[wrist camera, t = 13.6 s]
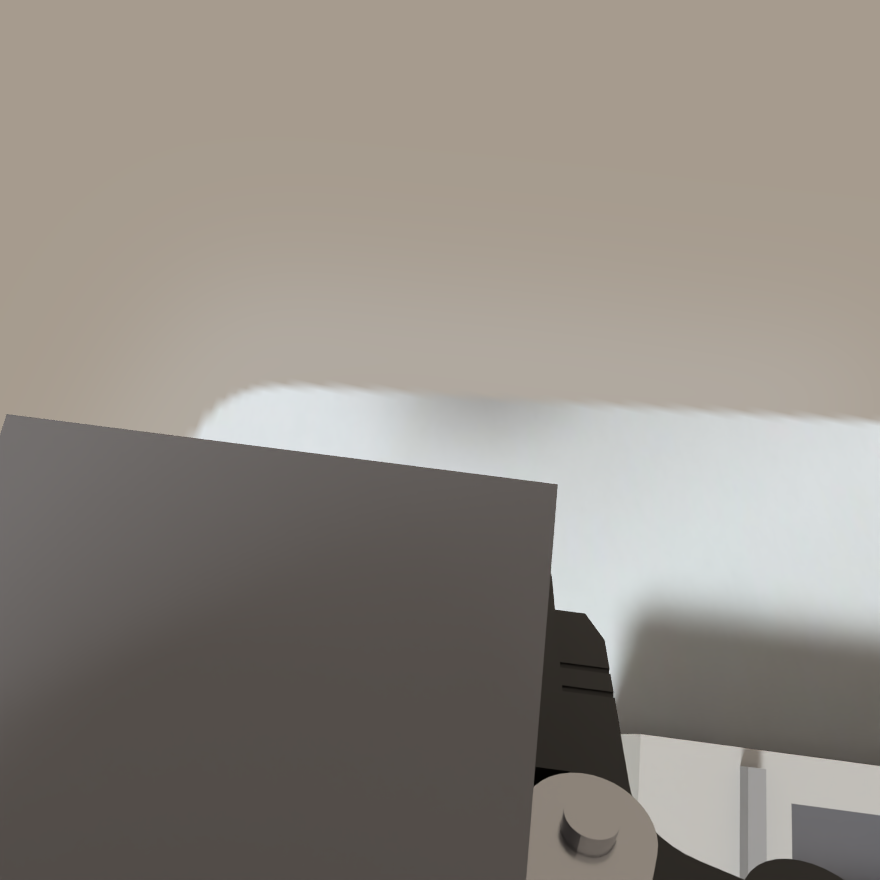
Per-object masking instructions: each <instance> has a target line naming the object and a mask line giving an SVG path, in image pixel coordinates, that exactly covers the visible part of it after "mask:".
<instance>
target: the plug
mask: <svg viewBox="0 0 880 880" xmlns="http://www.w3.org/2000/svg"><path fill="white" fill-rule="evenodd" d="M557 485H558V484H550V483H542V482H534V481H526V480H518V479H511V478H503V477H495V476H487V475H479V474H471V473H463V472H456V471H448V470H440V469H432V468H424V467H416V466H409V465H401V464H393V463H385V462H377V461H369V460H361V459H354V458H346V457H338V456H330V455H322V454H314V453H306V452H299V451H291V450H283V449H275V448H267V447H259V446H252V445H244V444H236V443H228V442H220V441H212V440H204V439H197V438H189V437H181V436H173V435H165V434H156V433H150V432H141V431H133V430H126V429H118V428H110V427H102V426H94V425H87V424H79V423H71V422H63V421H55V420H48V419H39V418H32V417H24V416H16V415H8V414H7V415H6V419H5V421H4V424H3V428H2V431H1V434H0V880H526V876H527V863H528V851H529V838H530V825H531V813H532V800H533V788H534V775H535V762H536V750H537V737H538V725H539V712H540V700H541V687H542V674H543V662H544V649H545V637H546V624H547V611H548V599H549V586H550V574H551V561H552V548H553V536H554V523H555V511H556V498H557Z"/></svg>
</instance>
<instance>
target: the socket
mask: <svg viewBox="0 0 880 880" xmlns="http://www.w3.org/2000/svg"><path fill="white" fill-rule="evenodd" d="M621 739H622V744H623V750H624V756H625V762H626V768H627V773H628V779H629V785H630V790H631V793H632V796H633V797H634V798H635V799H636V800H637V801H638V802H639V803H640V804H641V805H642V807H643V808H644V809H645V811H646V812H647V813H648V815H649V817H650V819H651V821H652V822H653V824H654V827H655V830H656V833H657V834H658V835H660V836H661V837H662V838H663V839H664V840H665V841H667V842H668V843H669V844H671V845H672V846H673V847H675V848H677V849H678V850H680V851H681V852H683V853H684V854H687V855H689V856H691V857H693V858H695V859H697V860H699V861H701V862H704V863H706V864H708V865H711V866H713V867H716V868H718V869H720V870H723V871H725V872H727V873H730V874H732V875H734V876H737V877H739V878H742V879H744V880H745V878H746V877H747V875H748V874H749V872H750V871H751V870H752V869H754V868H755V867H756V866H757V865H759V864H761V863H763V862H766V861H769V860H774V859H794V860H801V861H805V862H808V863H812V864H814V865H817V866H819V867H822V868H824V869H826V870H828V871H830V872H832V873H834V874H836V875H838V876H839V877H841V878H842V879H844V880H880V766H875V765H868V764H860V763H853V762H846V761H838V760H831V759H823V758H816V757H808V756H801V755H793V754H786V753H778V752H771V751H763V750H756V749H749V748H741V747H734V746H726V745H719V744H711V743H704V742H696V741H689V740H681V739H674V738H666V737H659V736H651V735H644V734H621Z"/></svg>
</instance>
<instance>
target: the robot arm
mask: <svg viewBox="0 0 880 880" xmlns="http://www.w3.org/2000/svg"><path fill="white" fill-rule="evenodd" d="M526 880H744V879H742V878H739V877H737V876H734V875H732V874H730V873H727V872H725V871H723V870H720V869H718V868H716V867H713V866H711V865H708V864H706V863H704V862H701V861H699V860H697V859H695V858H693V857H691V856H689V855H687V854H684V853H683V852H681V851H680V850H678V849H677V848H675V847H673V846H672V845H671V844H669V843H668V842H667V841H665V840H664V839H663V838H662V837H661V836H660V835H658V834H657V833H656V830H655V827H654V824H653V822H652V821H651V819H650V817H649V815H648V813H647V812H646V811H645V809H644V808H643V807H642V805H641V804H640V803H639V802H638V801H637V800H636V799H635V798H634V797H633V796H632V793H631V790H630V785H629V779H628V773H627V768H626V762H625V756H624V750H623V744H622V739H621V733H620V727H619V721H618V716H617V710H616V704H615V698H613V687H612V681H611V675H610V674H609V664H608V658H607V652H606V646H605V640H604V639H603V637H602V636H601V635H600V633H599V632H598V631H597V629H596V628H595V627H594V625H593V624H592V622H591V621H590V620H589V618H588V617H587V616H586V614H584V613H576V612H568V611H561V610H555V606H554V595H553V585H552V576H551V574H550V586H549V599H548V611H547V624H546V637H545V649H544V662H543V674H542V687H541V700H540V712H539V725H538V737H537V750H536V762H535V775H534V788H533V800H532V813H531V825H530V838H529V851H528V863H527V876H526ZM745 880H844V879H842V878H841V877H839V876H838V875H836V874H834V873H832V872H830V871H828V870H826V869H824V868H822V867H819V866H817V865H814V864H812V863H808V862H805V861H801V860H794V859H774V860H769V861H766V862H763V863H761V864H759V865H757V866H756V867H755V868H754V869H752V870H751V871H750V872H749V874H748V875H747V877H746V878H745Z"/></svg>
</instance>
